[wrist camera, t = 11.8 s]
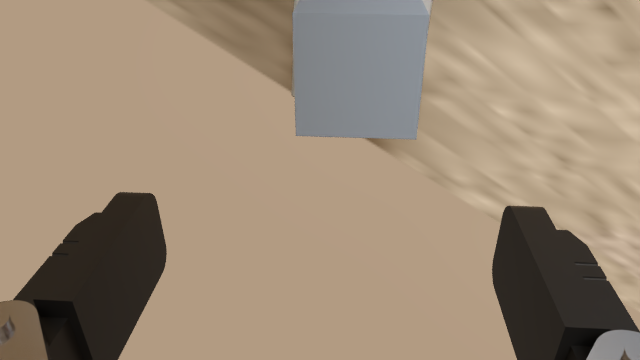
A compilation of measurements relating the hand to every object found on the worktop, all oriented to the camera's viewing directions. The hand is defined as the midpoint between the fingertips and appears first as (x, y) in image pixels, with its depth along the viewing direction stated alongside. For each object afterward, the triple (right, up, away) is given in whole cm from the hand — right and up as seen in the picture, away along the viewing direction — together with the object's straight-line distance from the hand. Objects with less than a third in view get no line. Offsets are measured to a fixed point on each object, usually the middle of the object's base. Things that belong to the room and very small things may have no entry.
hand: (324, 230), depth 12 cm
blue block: (+2, +9, +15) cm, 17 cm away
